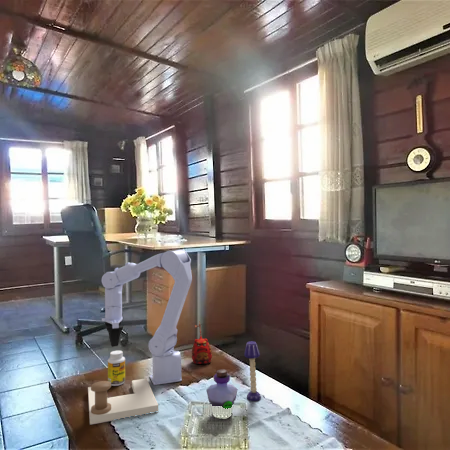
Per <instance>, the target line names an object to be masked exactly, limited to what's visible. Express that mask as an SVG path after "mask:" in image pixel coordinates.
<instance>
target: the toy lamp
mask: <svg viewBox="0 0 450 450" xmlns="http://www.w3.org/2000/svg"><path fill="white" fill-rule="evenodd" d="M245 344H246V345H245V349H244V354H243V356H244V357H245V358H246V359H248V360H249V376H250V380H249V381H250V391H249V392H247V395H246V399H247V400H248V401H251V402H258V401H260V400H261V399H262V397H261V394H260V392H259V391H258V390H257V382H256V381H257V376H256V375H257V373H256V359H257V358H259V357H260V355H261V353H260V350H259V348H258V344H257V342H256V341H253V340H252V341H247V342H246V343H245Z"/></svg>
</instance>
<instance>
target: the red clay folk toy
mask: <svg viewBox="0 0 450 450" xmlns="http://www.w3.org/2000/svg"><path fill="white" fill-rule="evenodd" d="M202 325H203V323H201V321H200V320H198V325H196V324H194V329H196V328H198V327H199V338H195V339H194V342H193V344H192V347H191V348H192V349H191V360H192V362H193V364H195V365H201V364H204V365H206V364H207V365H208V364H211V363H212V362H211V361H212V357H213V355H212V353H213V352H212V347H211V345H210V343H209V341H208V339H207V338H203V335H202V327H201V326H202Z"/></svg>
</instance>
